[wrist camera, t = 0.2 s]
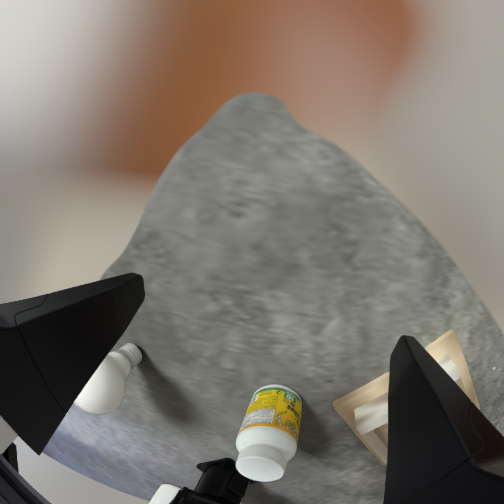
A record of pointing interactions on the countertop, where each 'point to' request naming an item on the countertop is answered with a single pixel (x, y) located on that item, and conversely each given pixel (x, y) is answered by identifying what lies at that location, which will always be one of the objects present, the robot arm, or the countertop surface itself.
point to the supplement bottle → (269, 433)
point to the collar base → (376, 396)
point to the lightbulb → (109, 381)
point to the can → (165, 494)
